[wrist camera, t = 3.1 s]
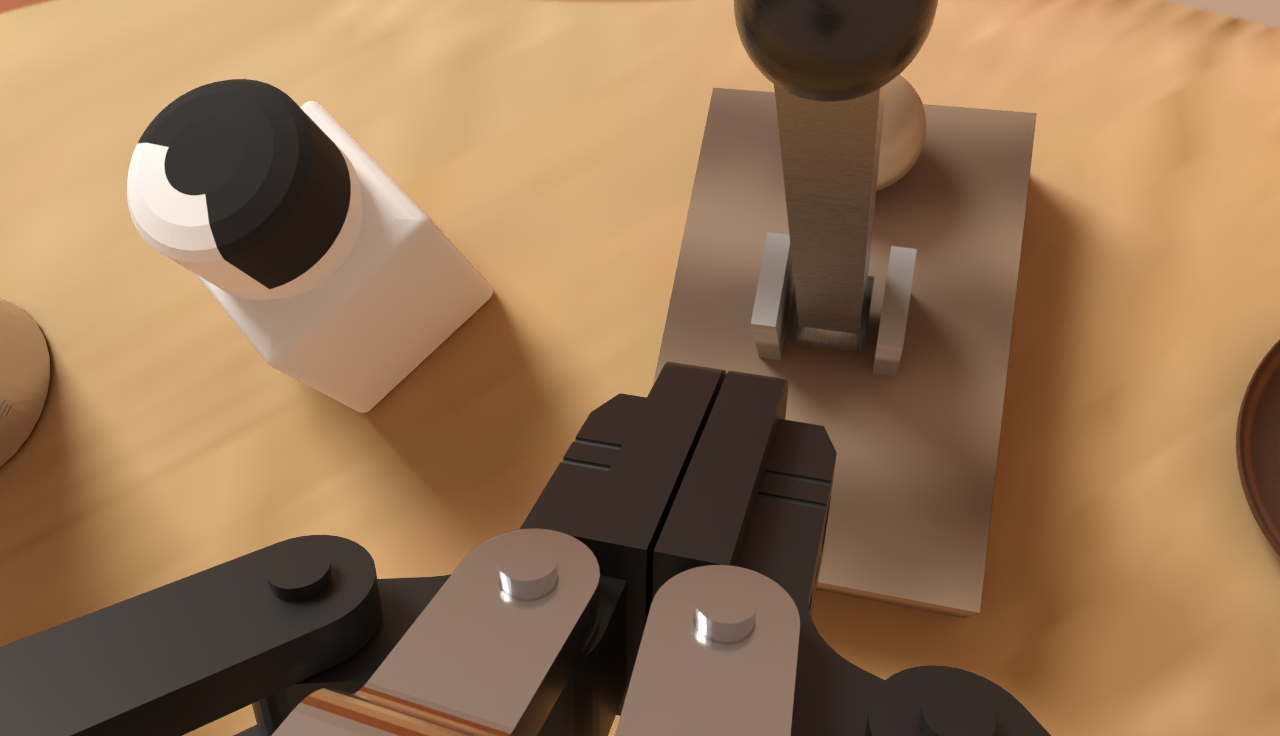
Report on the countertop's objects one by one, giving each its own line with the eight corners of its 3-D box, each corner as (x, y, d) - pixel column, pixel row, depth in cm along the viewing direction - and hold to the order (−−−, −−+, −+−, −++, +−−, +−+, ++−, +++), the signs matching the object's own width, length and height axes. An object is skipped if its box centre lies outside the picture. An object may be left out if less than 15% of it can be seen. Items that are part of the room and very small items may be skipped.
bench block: (964, 617, 36) (1001, 606, 28) (641, 555, 38) (591, 529, 30) (1017, 164, 40) (1062, 42, 32) (724, 138, 43) (698, 19, 35)
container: (393, 184, 45) (229, 6, 33) (499, 294, 43) (364, 147, 30) (266, 300, 45) (52, 164, 32) (365, 418, 42) (174, 320, 30)
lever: (878, 378, 34) (934, 32, 15) (774, 363, 35) (706, 18, 16) (891, 281, 35) (961, -160, 16) (790, 269, 36) (743, -164, 17)
